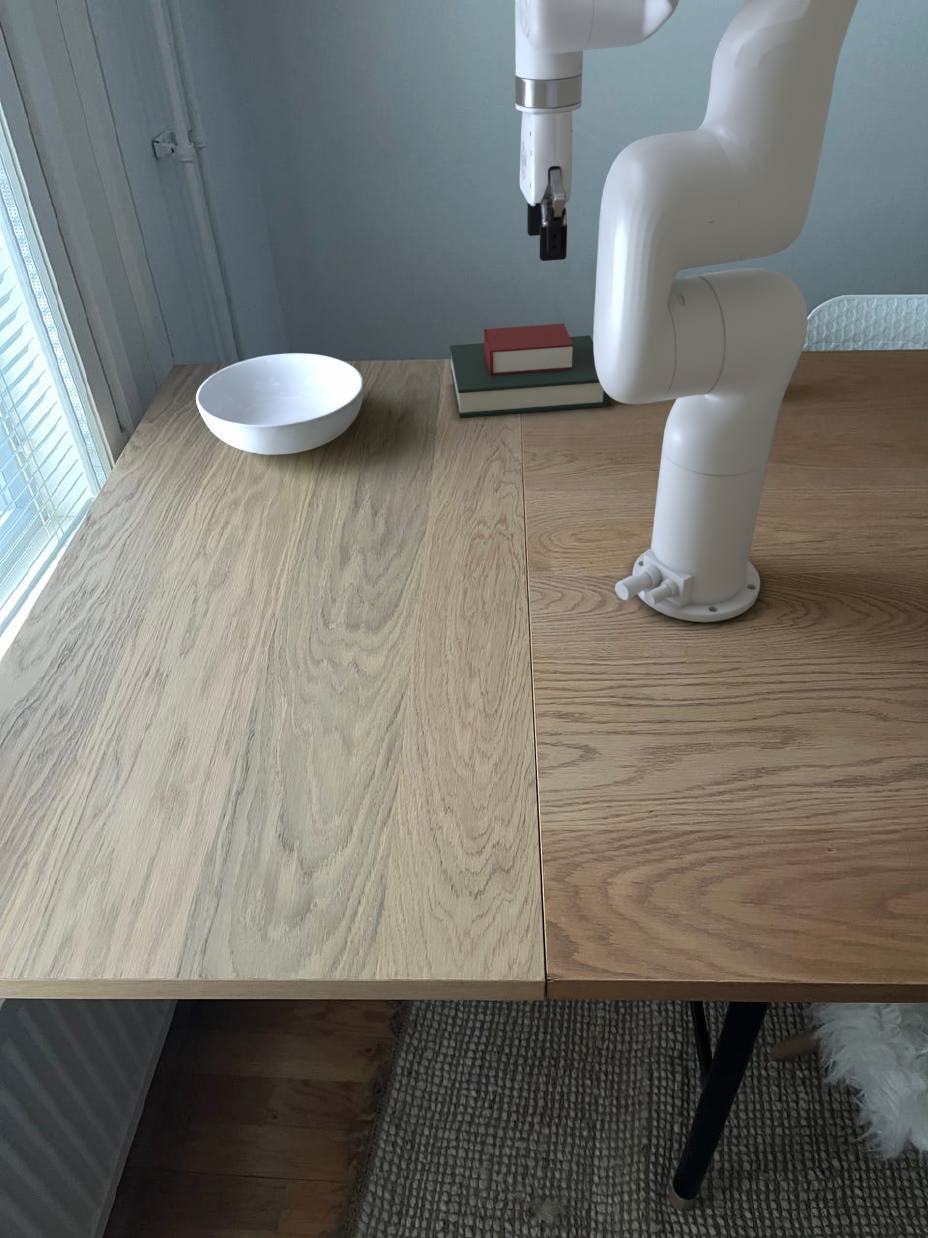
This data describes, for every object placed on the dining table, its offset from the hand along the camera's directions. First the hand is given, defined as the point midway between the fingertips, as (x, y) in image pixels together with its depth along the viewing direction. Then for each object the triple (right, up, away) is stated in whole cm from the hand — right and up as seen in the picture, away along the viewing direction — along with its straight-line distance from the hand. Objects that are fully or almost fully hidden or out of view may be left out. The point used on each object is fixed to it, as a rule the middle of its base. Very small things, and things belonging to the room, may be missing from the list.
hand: (546, 246), depth 118 cm
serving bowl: (-33, -23, +5) cm, 41 cm away
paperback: (-2, -11, +10) cm, 16 cm away
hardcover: (-2, -15, +13) cm, 20 cm away
